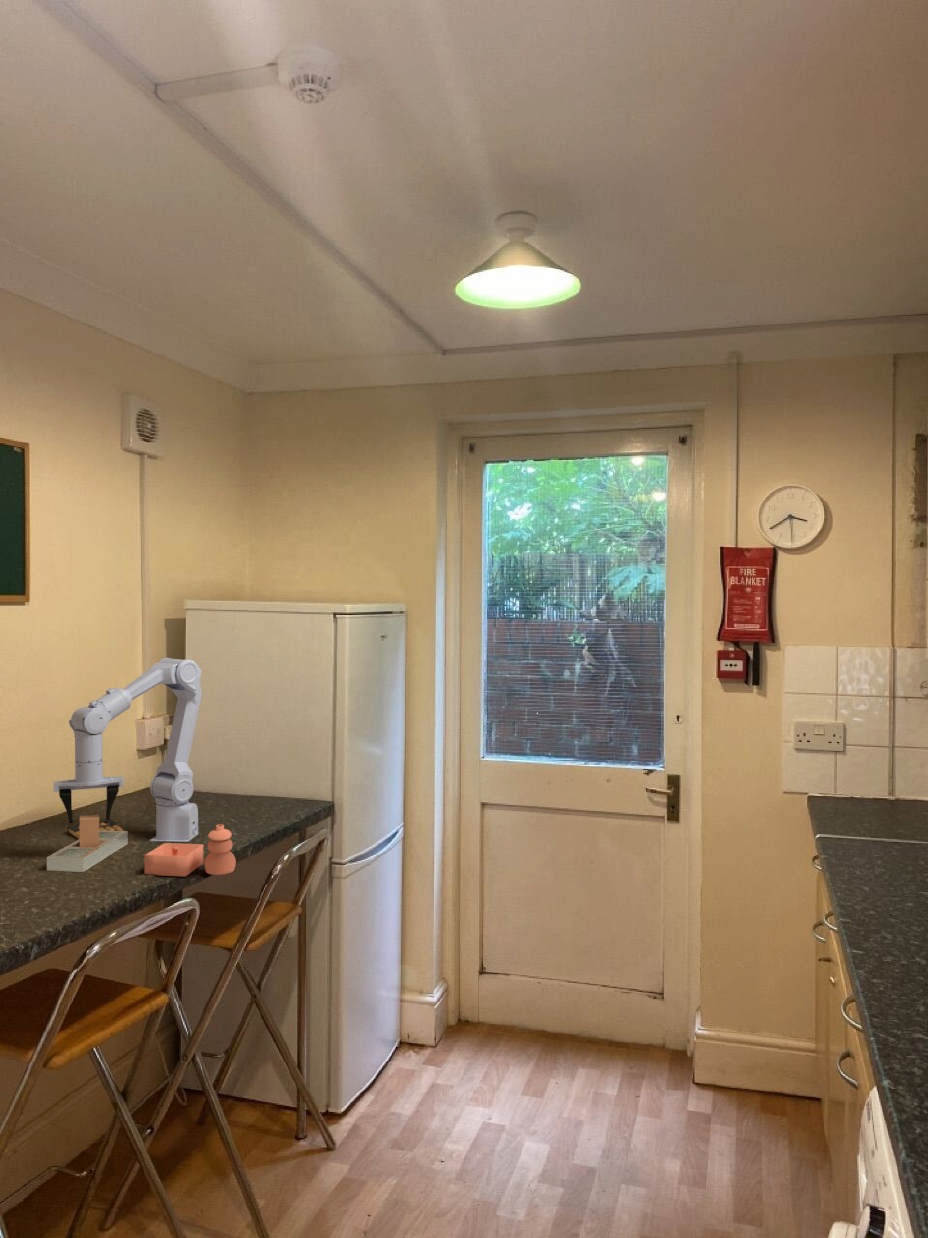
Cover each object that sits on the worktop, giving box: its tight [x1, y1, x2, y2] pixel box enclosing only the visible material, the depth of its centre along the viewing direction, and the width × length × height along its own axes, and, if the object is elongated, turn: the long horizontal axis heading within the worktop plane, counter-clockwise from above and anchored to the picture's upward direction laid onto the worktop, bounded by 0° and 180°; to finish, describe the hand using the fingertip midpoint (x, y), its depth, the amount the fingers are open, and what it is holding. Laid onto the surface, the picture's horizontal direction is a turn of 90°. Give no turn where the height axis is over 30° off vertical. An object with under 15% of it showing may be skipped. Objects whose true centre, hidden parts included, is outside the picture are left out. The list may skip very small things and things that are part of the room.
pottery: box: [144, 824, 237, 877], centre depth 195 cm, size 18×10×10 cm, turn 84°
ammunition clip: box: [67, 819, 124, 840], centre depth 221 cm, size 11×2×12 cm
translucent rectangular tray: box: [46, 830, 129, 873], centre depth 203 cm, size 22×8×3 cm, turn 177°
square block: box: [79, 814, 100, 847], centre depth 203 cm, size 4×4×9 cm
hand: (89, 820), depth 203 cm, fingers open, 7 cm apart
